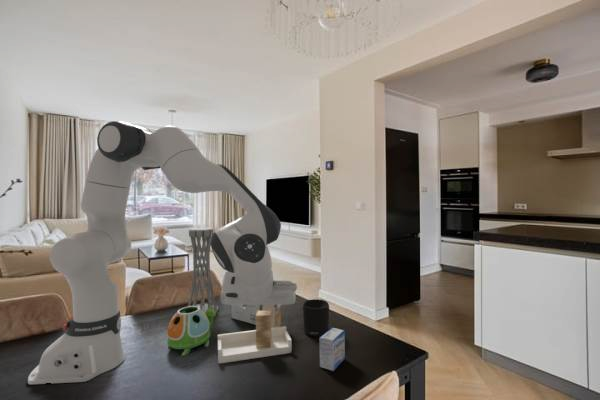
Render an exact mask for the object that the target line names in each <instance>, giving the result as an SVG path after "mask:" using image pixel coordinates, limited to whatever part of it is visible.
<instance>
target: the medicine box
mask: <svg viewBox="0 0 600 400" xmlns="http://www.w3.org/2000/svg"><path fill="white" fill-rule="evenodd" d="M345 334H346V333H345V330H344V329H340V328H337V327H336V328H335V327H331V328H330V329H328V331H327V332H326V333H325V334H324V335H323V336H319V367H320V368H323V369H326V370H329V371H331V372H334V371H336V369H337V368H338V367H339V366H340V365H341V363H342V362H343V361H344V360H345V358H346V355H345V354H346V353H345V351H346V349H345V346H346V342H345V340H346V339H345Z"/></svg>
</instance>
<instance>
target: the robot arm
mask: <svg viewBox="0 0 600 400" xmlns="http://www.w3.org/2000/svg"><path fill="white" fill-rule="evenodd" d="M96 138H97V139H96V140H97V141H96V143H97V149H96V151H95V152H94V155H93V156H92V159H91V161H90V164H89V166H88V171H87V174H86V178H85V183H84V188H83V192H82V198H81V202H80V208H81V210H82V212H83V213H84V214H85V216H86V217H87V218H86V219H87V231H83V232H76V233H72V234H71V235H68V236H66V237H64V238H61V239H60V240H58V241H57V242H55V243H54V244H53V246H52V247H51V249H50V252H49V261H50V264H51V265H52V268H53V269H54V270H55V271H57V272H58V273H60V274H61V275H63V276H64V277H65V279H66V281H67V283H68V286H69V288H70V291H71V295H72V297H71V298H72V300H71V301H72V315H71V316H70V317H69V319H68V320H67V321H66V322H65V324H64V325H63V326H62V327H63V329H62V331H65V333H63V334H62V335H61V336H60V337H59V338H57V339H56V340H55V341H54V342H52V343H51V344H50V345H49V346H48V347H47V348H46V349H45V350H44V351H43V353H42V355H41V357H40V359H39V364H38V365H37V366H35V368H34V369H32V371H31V372H30V374H29V375H28V377H27V384H28V385H45V384H46V383H51V384H65V383H67V384H68V383H83V382H84V383H85V382H87V381H90V380H92V379H94V378H95V377H97V376H99V375H102V374H104V373H107V372H108V371H110V370H111V371H112V370H113V369H114V368H116V367H118V366H119V365H121V364H122V363H123V362H124V360H125V359H126V356H127V355H126V353H125V350H124V347H123V343H122V338H121V328H122V317H121V310H119V286H118V285H117V283H116V282H115V281H113V280H112V279H111V276H110V274H109V271H108V265H110V264H113V263H115V262H118V261H120V260H122V259H123V258H124V257H125V256H126V255H127V254H128V253H129V252H130V251H131V247H132V240H131V236H130V235H129V233H127V232H128V231H127V225H126V224H127V223H126V222H127V221H126V209H127V204H128V201H129V200H128V198H129V195H130V194H129V193H130V189H131V183H132V178H133V174H134V172H135V171H137V169H140V168H141V169H142V170H144V171H148V170H156V169H157V170H158V169H160V170H161V171H162V173H163V174H164V176H165V177H166V179H167V180H168V181H169V183H170V184H171V185H172V187H174V188H175V190H176V189H177V190H179V191H180V192H184V193H191V194H198V193H206V192H221V193H226V194H228V195H229V196H230V197H231V198H232V199H233V200H235V202H236V203H237V204H238V205H239V206H240V207H241V208H242V210H244V211H245V212H246V214H244V215H242V216H240V217H238V218H237V219H235V220H233V221H231V222H229V223H227V224H225V225H223V226H221V227H220V228H218V229H217V230H215V231H213V235H212V238H211V243H210V244H211V245H210V248H211V250H212V252H213V253H212V254H213V255H214V257H215V260H216V261H217V264H218V265H219V266H220V267H221V268H222V269H223V270H225V273H224V275H223V278H222V279H223V280H222V284H221V290H220V291H221V292H220V296H219V297H220V302H221V304H222V305H226V306H231V305H238V306H240V307H241V309H247V305H266V304H274V309H279V308H280V306H283V305H293V304H295V303H296V291H297V288H298V286H297V283H295V282H293V281H291V280H286V279H285V280H283V279H282V280H279V279H278V280H277V279H276V280H274V275H273V262H272V257H271V253H270V249H269V247H268V245H270V244H272V243H274V242H276V241H277V240H278V238H279V236H280V234H281V233H280V232H281V229H282V224H281V223H282V222H281V220H280V219H279V217H278V215H277V214H276V213H275V212H274V211H273V210H272V209H271V208H270V207H268V206H267V205H266V204H264V203H263V202H262V201H261V200H260V199H259V198H258V197H257V196H256V195H255V194H254V192H252V191H251V190H250V189H249V188H248V187H247V186H246V185H245V184H244V182H243V181H242V180H240V179H239V178H238V176H236V174H235V173H233V171H231V170H230V169H229V168H228V167H226V166H225V165H224V164H220V163H218V164H217V163H215V162H213V161H211V160H209V159H208V158H206V157H205V156H204V154H202V153H201V151H200V149H199V148H198V147H197V145H196V144H195V143H194V142H193V140H192V139H191V138H190V137H189V136H188V135H187V134H186V133H185V132H184V131H183V130H182V129H181V128H179V127H177V126H174V125H167V126H163V127H160V128H158V129H157V130H155V131H154V130H152V129H150V128H148V127H144V126H139V125H135V124H133V123H132V124H131V123H130V122H127V121H118V120H115V121H113V120H112V121H109V122H107V123H105V124H104V125H103V126H102V127H101V128H100V130H99V132H98V134H97V137H96Z"/></svg>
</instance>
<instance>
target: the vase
mask: <svg viewBox="0 0 600 400" xmlns="http://www.w3.org/2000/svg"><path fill="white" fill-rule="evenodd" d="M213 233H214V228H213V227H207V226H206V227H192V228H188V236H189V238H190V242H191V246H192V256H193V257H192V259H193V261H192V263H193V264H192V268H193V271H192V279H191V285H190V293H189V300H188V304H187V307H188V306H197V307H199V308H200V309H201V310H202V311H203V312H204V313H205V312H206V310H207V309H208V308H210V307H213V308H214V311H215V312H216V314H217V313H218V312H219V306H218V305H217V302H216V297H215V294H214V293H215V292H214V288H213V282H212V281H213V280H212V275H211V271H210V269H211V266H210V261H211V260H210V259H211V257H210V255H211V254H210V251H211V244H210V243H211V238H212V235H213ZM201 240H202V245H201ZM202 280H203V282H202ZM202 283H203V284H202ZM205 290H206V294H207V302H205ZM199 291H200V297H201V299H200V303H199V304H198V302H197V301H198V296H199V295H198V294H199ZM192 300H193V301H192Z"/></svg>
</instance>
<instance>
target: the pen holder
mask: <svg viewBox="0 0 600 400" xmlns="http://www.w3.org/2000/svg"><path fill="white" fill-rule="evenodd" d="M302 317H303V318H302V319H303V321H302V322H303V331H304V333H305V334H306V335H307V336H310V337H319V338H320V337H321V336H323V335H324V334H325V333H326V332H327V331H329V319H330V318H329V317H330V305H329V302H328V301H327V300H323V299H318V298H317V299H315V298H314V299H307V300H306V301H304V303H303V305H302Z"/></svg>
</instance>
